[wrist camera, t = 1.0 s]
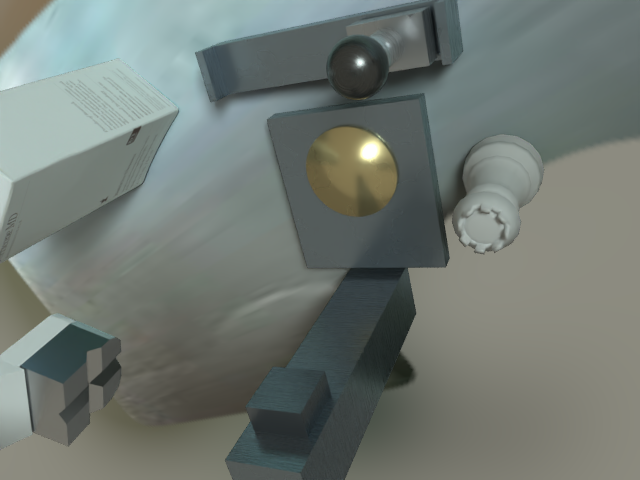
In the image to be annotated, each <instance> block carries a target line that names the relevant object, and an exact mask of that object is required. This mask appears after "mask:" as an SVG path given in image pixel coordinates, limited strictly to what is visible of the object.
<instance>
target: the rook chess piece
mask: <svg viewBox="0 0 640 480" xmlns="http://www.w3.org/2000/svg"><path fill="white" fill-rule="evenodd" d="M543 173H544V167H543V163H542V159H541V156H540V154H539V153H538V152H537V151H536V149H535V148H534V147H533V146H532V144H530V143H529V142H527V141H525V140H523V139H521V138H519V137H518V136H511V135H503V134H500V135H496V136H492V137H488V138H485V139H483V140H482V141H481V142H479V143H478V144H476V145H475V146H473V148H472V149H471V151H470V153H469V154H468V156H467V158H466V160H465V164H464V169H463V177H462V179H463V183H464V186H465V189H466V192H467V195H466V196H465V198H463V199H462V200H460V201H459V203H458V204H457V206H456V207H455V209H454V210H453V218H452V224H453V226H454V230H455V233H456V234H457V235H458V236H459V241H460V242H461V243H462V244H463V245H464V247H466V246H467V245H469V246H471V247H472V248H474V249H475V251H474V252H475V253H480V254H484V253H485V251H494V253H495V252H497V251H499V250H500V249H502V248H504V247H506V246H508V245H510V244H511V243H512V242H513V241H514V239H515V238H516V237H517V235H518V234H519V230H520V225H521V220H520V217H519V208H521V207H523V206H524V205H526V204H527V203H529V202H530V201H531V200H532V198H533V197H534V196H535V194H536V193H537V192H538V190H539V187H540V185H541V183H542V178H543Z"/></svg>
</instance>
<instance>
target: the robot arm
mask: <svg viewBox="0 0 640 480" xmlns="http://www.w3.org/2000/svg"><path fill="white" fill-rule="evenodd" d="M120 352H121V340H120V339H118V338H116V337H114V336H112V335H110V334H107V333H105V332H102V331H100V330H98V329H95V328H93V327H91V326H88V325H86V324H84V323H81V322H79V321H76V320H73V319H71V318H68V317H66V316H64V315H61V314H59V313H57V314H54V315H50V316H49V317H48V318H46V319H45V320H44V321H42V322H41V323H40V324H39V325H37V326H36V327H35V328H34V329H33V330H31V331H30V332H29V333H27V334H26V335H25V336H24V337H22V338H21V339H20V340H18V341H17V342H16V343H15V344H13V345H12V346H11V347H10V348H8V349H7V350H6V351H4V352H3V353H2V354H1V355H0V450H1V449H3V448H5V447H7V446H9V445H11V444H14V443H15V442H18V441H20V440H22V439H24V438H26V437H28V436H31V435H32V434H33V433H32V432H34V433H36V434H38V435H41V436H43V437H46V438H48V439H51V440H53V441H56V442H58V443H61V444H63V445H66V446H69V445H70V444H71V443H72V442H73V441H74V440H75V439H76V438H77V437H78V435H79V434H80V433H81V432H82V431H83V430H84V429H85V428H86V427H87V425H89V424H90V413H92V412H94V411H97V410H100V409H102V408H104V407H105V406H106V405H107V403H108V402H109V401H110V400H111V399H112V397H113V396H114V394H115V392H116V390H117V388H118V386H119V383H120V379H121V365H120V364H119V362H118V361H117V359H116V357H117V355H118V354H119V353H120Z"/></svg>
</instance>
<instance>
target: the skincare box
mask: <svg viewBox="0 0 640 480" xmlns="http://www.w3.org/2000/svg"><path fill="white" fill-rule="evenodd" d="M177 113H178V108H177V106H175V105H174V104H173V103H172V102H171V101H170V100H168V99H167V98H166V97H165V96H164V95H163V94H161V93H160V92H159V91H158V90H157V89H155V88H154V87H153V86H152V85H151V84H150V83H148V82H147V81H146V80H145V79H144V78H142V77H141V76H140V75H139V74H138V73H137V72H135V71H134V70H133V69H132V68H131V67H129V66H128V65H127V64H126V63H125V62H124V61H122V60H121V59H119V58H117V59H115V60H111V61H108V62H104V63H101V64H97V65H93V66H90V67H87V68H83V69H79V70H76V71H72V72H68V73H65V74H61V75H57V76H54V77H50V78H47V79H43V80H39V81H36V82H32V83H28V84H25V85H21V86H18V87H14V88H11V89H7V90H3V91H0V263H2V262H4V261H5V260H7V259H9V258H11V257H13V256H14V255H16V254H18V253H20V252H21V251H23V250H25V249H27V248H28V247H30V246H32V245H34V244H36V243H37V242H39V241H41V240H43V239H45V238H46V237H48V236H50V235H52V234H54V233H55V232H57V231H59V230H61V229H63V228H64V227H66V226H68V225H70V224H72V223H73V222H75V221H77V220H79V219H81V218H82V217H84V216H86V215H88V214H89V213H91V212H93V211H95V210H96V209H98V208H100V207H102V206H103V205H105V204H107V203H109V202H111V201H112V200H114V199H116V198H118V197H119V196H121V195H123V194H125V193H127V192H128V191H130V190H132V189H134V188H136V187H138V186H139V185H140V184H142V183H143V182H144V179H145V176H146V173H147V171H148V168H149V166H150V164H151V162H152V160H153V157H154V155H155V153H156V151H157V149H158V147H159V145H160V143H161V141H162V139H163V138H164V136H165V134H166V132H167V130H168V129H169V127H170V125H171V123H172V122H173V120H174V119H175V117H176V115H177Z"/></svg>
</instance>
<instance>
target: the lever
mask: <svg viewBox="0 0 640 480" xmlns="http://www.w3.org/2000/svg"><path fill="white" fill-rule="evenodd" d="M346 31H347V35H348V36H347V37H345V38H343V39H341V40H340V41H339V42H338V43H336V44H335V45H334V47H333V48H332V50H331V51H330V53H329V55H328V58H327V63H326V72H327V77H328V80H329V82H330V84H331V86H332V87H333V89H334V90H335V91H336V92H337V93H339V94H340V95H341V96H343V97H345V98H348V99H352V100H362V99H366V98H369V97H371V96H373V95H374V94H376V93H377V92H378V91H379V90H380V89H381V88H382V87H383V85H384V84H385V82H386V80H387V77H388V73H389V72H393V71H399V70H406V69H412V68H418V67H425V66H430V65H431V64H432V63H433V62H434V61H435V60H436V59H437V52H436V45H435V38H434V31H433V24H432V17H431V10H430V6H428V7H423V8H418V9H413V10H408V11H403V12H398V13H394V14H389V15H384V16H379V17H374V18H369V19H364V20H359V21H356V22H354V23H352V24H351V25H349V26H347V27H346Z"/></svg>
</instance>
